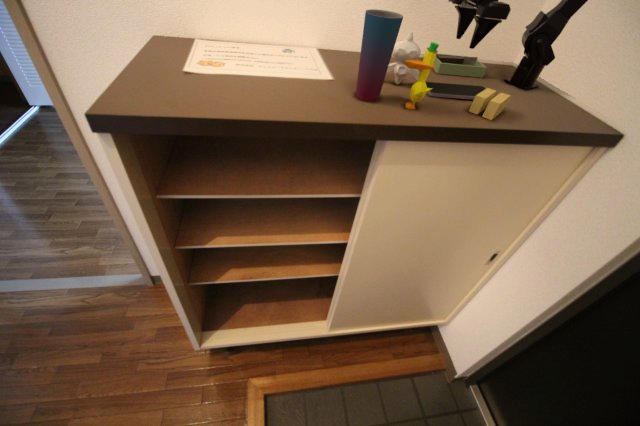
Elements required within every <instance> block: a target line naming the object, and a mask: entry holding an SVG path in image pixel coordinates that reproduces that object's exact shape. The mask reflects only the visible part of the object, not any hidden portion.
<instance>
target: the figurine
mask: <svg viewBox="0 0 640 426" xmlns="http://www.w3.org/2000/svg"><path fill="white" fill-rule="evenodd" d="M421 52H422V50H421V48H420V46H419V44H417V42H415V41H414V33H413V31H409V32H408V33H407V35H406V37H405V38H404V39H402V40H399V41H396V43H395V46H394V49H393V53H392V56H391V58H392V59H393V60H394V62H389V66H388V69H387V72H386V74H387V73H390V72H393V74H394V83H395V85H400V84H401V82H403V80H404V78H406V77H407V76H408V75H410V76H412V77H413V78H414V79H415V81H416V82H417V81H418V78H419V73H420V70H417V69H411V68H408V67H407V66H406V64H405V61H406V60H410V59H411V60H419V58H420V56H421V54H422V53H421Z"/></svg>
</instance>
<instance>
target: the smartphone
mask: <svg viewBox="0 0 640 426" xmlns="http://www.w3.org/2000/svg"><path fill="white" fill-rule="evenodd" d="M425 82H426V86H427V88H433V89H432V90H430V91H429V92H428V93H427V95H428V96H430V97H434V98H446V99H447V98H449V99H460V100H461V99H462V100H472V101H474V98H475V96H476V95H477V94H479V93H480V92H482V91H484V90H485V89H487V87H485V86H482V85H474V84H459V83H458V84H457V83H446V82H436V81H435V82H432V81H425Z"/></svg>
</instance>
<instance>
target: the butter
mask: <svg viewBox="0 0 640 426" xmlns="http://www.w3.org/2000/svg"><path fill="white" fill-rule="evenodd" d="M496 93H497V90H496V89H493V88H490V87H486V89H485V90H484V91H482V92H480V93H479V94H477V95H476V96H475V98H474V100H472V102H471V105H470V107H469V110H468V112H469V113H472V114H474V115H479V114H480V113H482V112H483V111H484V112H483V114H482V118H485V119H487V120H489V121H492V120H493V119H495V118H496V117H497V116H498V115H499V114H501V113H502V112H503V110H504V108H505V107H506V105H507V104H508V101H509V100H510V99H511V97H512V96H511V94H507V93H504V92H500V93H498V94H497V95H496Z"/></svg>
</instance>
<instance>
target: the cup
mask: <svg viewBox="0 0 640 426" xmlns="http://www.w3.org/2000/svg"><path fill="white" fill-rule="evenodd" d="M364 13H365V14H364V22H363V29H362V37H361V46H360V47H361V48H360V53H359V54H360V55H359V63H358V70H357V71H358V73H357V80H356V88H355V97H356V98H357V99H358V100H360V101H362V102H367V103H374V102H377V101H378V100H379V98H380V95H381V92H382V88H383V85H384V82H385V79H386V75H387V73H388V72H387V69H388V66H389V64H390V63H391V58H392V53H393V49H394V46H395V43H397V39H398V36H399V33H400V29H401V26H402V23H403V19H404V15H403V14H401V13H398V12H394V11H391V10H384V9H376V8H375V9H372V8H371V9H366V10H365V12H364ZM386 72H387V73H386Z"/></svg>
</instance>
